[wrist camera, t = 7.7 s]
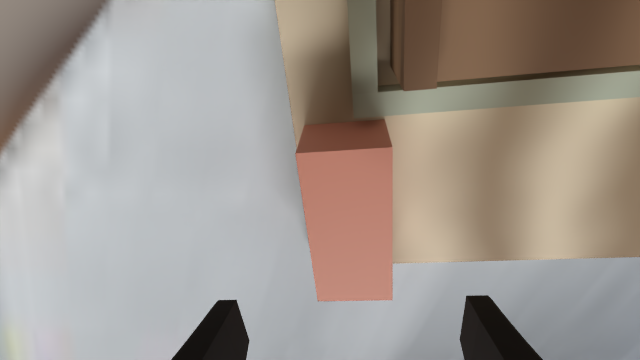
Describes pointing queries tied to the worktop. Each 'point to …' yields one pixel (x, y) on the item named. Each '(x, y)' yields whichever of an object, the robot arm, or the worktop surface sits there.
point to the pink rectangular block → (348, 208)
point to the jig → (477, 143)
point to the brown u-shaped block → (508, 38)
